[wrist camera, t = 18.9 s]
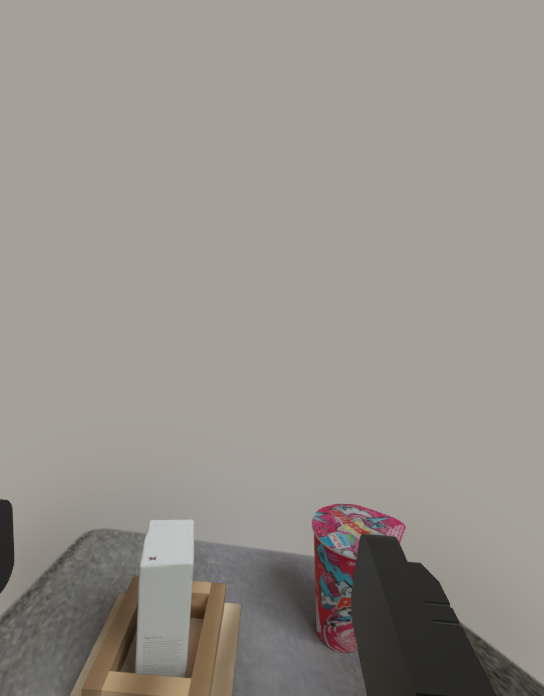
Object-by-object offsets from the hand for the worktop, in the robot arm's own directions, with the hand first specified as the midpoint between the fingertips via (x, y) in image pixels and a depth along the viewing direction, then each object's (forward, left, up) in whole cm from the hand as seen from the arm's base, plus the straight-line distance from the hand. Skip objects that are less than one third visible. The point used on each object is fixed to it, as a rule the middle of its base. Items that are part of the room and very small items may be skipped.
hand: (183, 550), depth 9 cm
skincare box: (-1, -23, -29) cm, 37 cm away
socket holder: (-1, -23, -30) cm, 38 cm away
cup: (-19, -24, -30) cm, 43 cm away
